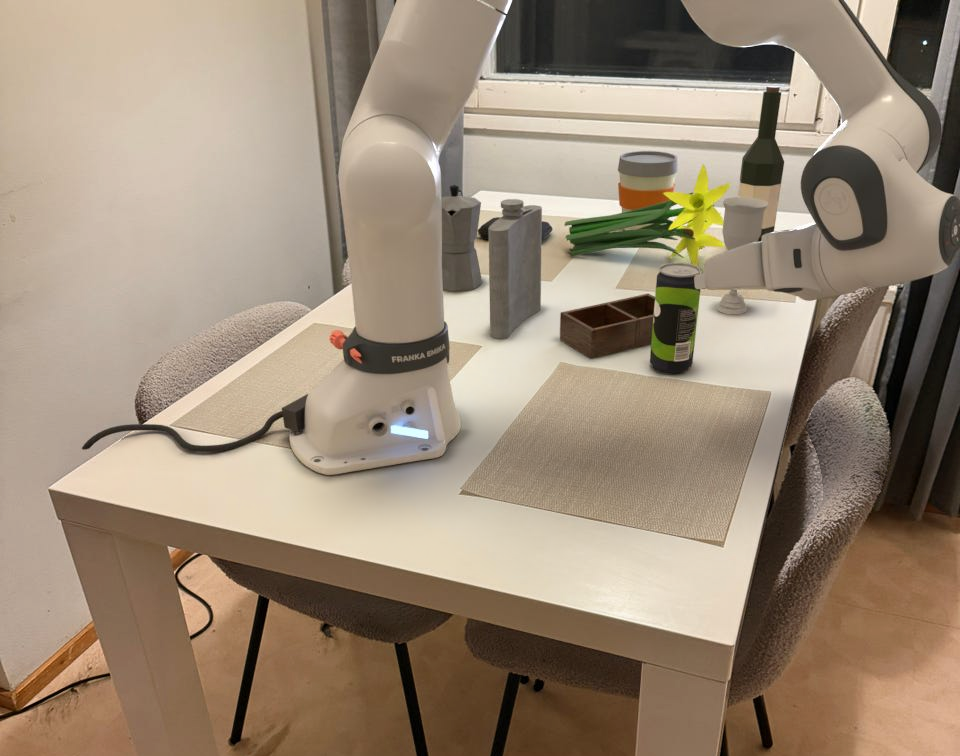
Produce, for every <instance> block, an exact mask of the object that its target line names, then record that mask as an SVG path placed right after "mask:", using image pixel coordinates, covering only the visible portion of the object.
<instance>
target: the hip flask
mask: <svg viewBox="0 0 960 756" xmlns="http://www.w3.org/2000/svg"><path fill="white" fill-rule="evenodd" d="M500 208H501V215H502V216H500V217H501V218H499V219H498V220H496V221H495V222H494V223H493V224H492V225H491V226H490V227H489V228H488V234H489V239H488V284H489V285H488V286H489V288H488V289H489V336H490V337H491V338H492V339H495V340H504V339H508V338H509V337H510V336H511V334H512V333H513V332H514V331H515V329H516V328H517V327H518V326H520V325H521V323H523V322H524V321H525V320H527V319H529V318H531V316H533V315H535V314H536V313H539V312H540V311H541V307H542V306H541V304H542V296H541V295H542V241H543V240H542V221H543V206H540V205H537V204H530V205H525V204H524V200H522V199H518V198H507V199H503V200H501V201H500ZM541 240H542V241H541Z"/></svg>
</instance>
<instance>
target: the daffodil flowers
mask: <svg viewBox="0 0 960 756" xmlns="http://www.w3.org/2000/svg"><path fill="white" fill-rule="evenodd" d="M730 186H731V182H729V183H725V184H722V185H719V186H716V187H714V188H712V189H709V178H708V172H707V168H706V166H705V165H704V164H702V165H701V168H700V169H699V172H698V176H697V178H696V181H695V186H694V189H693V192H688V193H687V192H686V193H684V192H678V191H674V192H664V193H663V194H664V195H665V196H667V197H668V198H669V199H671V200H669V201H666V202H662V203H658V204H655V205H651V206H647V207H644V208H639V209H635V210H631V211H627V212H623V213H622V212H619V213H615V214H611V215H601V216H593V217H585V218H579V219H574V220H567V221H565V222H564V227H567V226H570V227H569V229H568V231H569V234H567V235H565V239H566V242H567V241H568V242H569V243H570V245H572V246H573V247H572V248H569V249H568V250H569V252H568V255H569V256H570V257H573V256H580V255H587V254H592V253H597V252H600V251H606V250H611V249H659V250H660V249H661V250H666V251H669V252H672V253H671V255H670V256H669V259H673V258H674V256H676V255H678V256H679V257H681V258H683V259H684V258H685V257H684V256H682V255H681V254H680V253H681V252H683V251H684V250H685V249H686V251H687V254H688V256H689V260H690V262H691V264H692V265H695V266H697V267H699V261H698V260H699V250H703V249H704V248H705V247H710V248H711V247H712V248H726V245H725V243H723V242H722V241H721V240H720V239H719V238H717V237H716V236H713V235H710V234H709V233H706V232H707V230H708V229H709V228H710V227H711V226H712V225H713V224H714V225H717V226H723V222H724V217H722V212H719V211H718V210H717V209H716V208H715V203H716V202H717V201H718V200H720V199H721V198H722V197H723V196H724V195H725V194H726V193H727V191H728V190H729V188H730ZM676 205H679V206H680V207H679V208H673V209H672V207H674V206H676ZM674 217H676V218H675V219H674V220H671V219H670V218H674ZM643 224H651V225H648V226H645V227H642V228H639V229H636V230H624V228H628V227H632V226H636V225H643ZM661 224H663V225H661ZM675 237H679V238H680V239H681V240H680V241H679V243H677V245H676V247H675V248H673V247H672V246H670V245H668V244H665V243H662V242H660V241H654V240H657V239H664V240H672V241H678V240H679V239H678V238H675Z"/></svg>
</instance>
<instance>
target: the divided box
mask: <svg viewBox="0 0 960 756" xmlns="http://www.w3.org/2000/svg"><path fill="white" fill-rule="evenodd" d="M654 305H655V295H653V294H651V293H645V294H644V293H643V294H639V295H635V296H630V297H625V298H621V299H617V300H612V301H607V302H603V303H598V304H593V305H588V306H584V307H579V308H575V309H570V310H565V311H562V312H560V313H559V314H560V316H559V317H560V319H559V340H560V341H561V342H563V343H564V344H565V345H568V346H569V347H571V348H572V349H574V350H576V351H577V352H579V353H581V354H582V355H584V356H585V357H587V358H588V359H590V360H591V359H595V358H600V357H604V356H607V355H612V354H616V353H619V352H624V351H625V352H626V351H628V350H632V349H637V348H641V347H645V346H648V345H651V341H652V329H653V317H654Z"/></svg>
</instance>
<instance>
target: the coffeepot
mask: <svg viewBox="0 0 960 756" xmlns="http://www.w3.org/2000/svg"><path fill="white" fill-rule="evenodd" d="M449 190H450V195H447V196H441V201H442V282H443V292H444V291H445V292H453V293H456V292H457V293H461V292H467V291H472V290H474V289H477V288H479V287H480V286H481V284H483V279H482V274H481V268H480V263H479V258H478V252H477V250H476V247H475V241H476V240H477V239H478V229H479V223H480V217H481V216H480V215H481V208H482V207H481V206H482V202H481V201H480V200H478V198H476V197H471V196H464V195H463V192H462V190H460V186H459V185H456V184H452V185H451V186H449Z"/></svg>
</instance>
